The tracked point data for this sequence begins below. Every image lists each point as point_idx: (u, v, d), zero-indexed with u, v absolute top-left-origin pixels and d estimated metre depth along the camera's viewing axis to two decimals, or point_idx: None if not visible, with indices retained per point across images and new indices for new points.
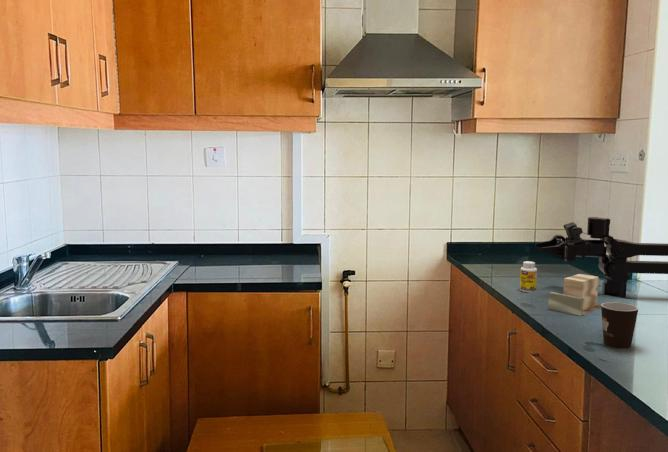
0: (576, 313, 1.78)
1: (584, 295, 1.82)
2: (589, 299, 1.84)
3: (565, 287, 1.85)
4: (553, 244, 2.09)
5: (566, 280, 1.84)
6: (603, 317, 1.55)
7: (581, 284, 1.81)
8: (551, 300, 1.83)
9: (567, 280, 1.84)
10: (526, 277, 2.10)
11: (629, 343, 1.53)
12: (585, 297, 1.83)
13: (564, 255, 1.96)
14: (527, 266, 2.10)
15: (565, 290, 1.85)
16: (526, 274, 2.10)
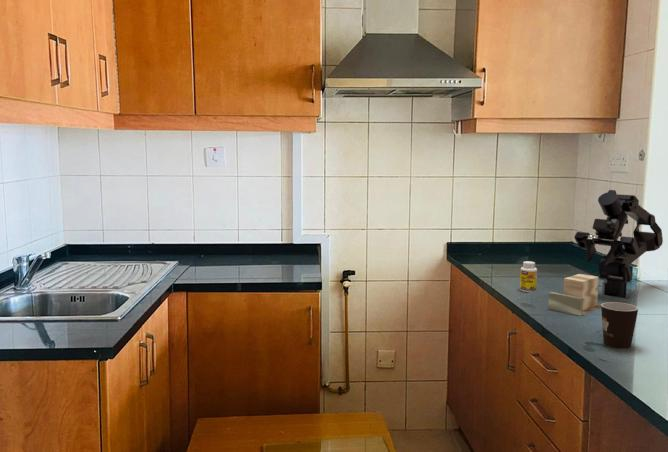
0: (576, 313, 1.78)
1: (584, 295, 1.82)
2: (589, 299, 1.84)
3: (565, 287, 1.85)
4: (593, 246, 1.96)
5: (566, 280, 1.84)
6: (603, 317, 1.55)
7: (581, 284, 1.81)
8: (551, 300, 1.83)
9: (567, 280, 1.84)
10: (526, 277, 2.10)
11: (629, 343, 1.53)
12: (585, 297, 1.83)
13: (624, 251, 1.91)
14: (527, 266, 2.10)
15: (565, 290, 1.85)
16: (526, 274, 2.10)
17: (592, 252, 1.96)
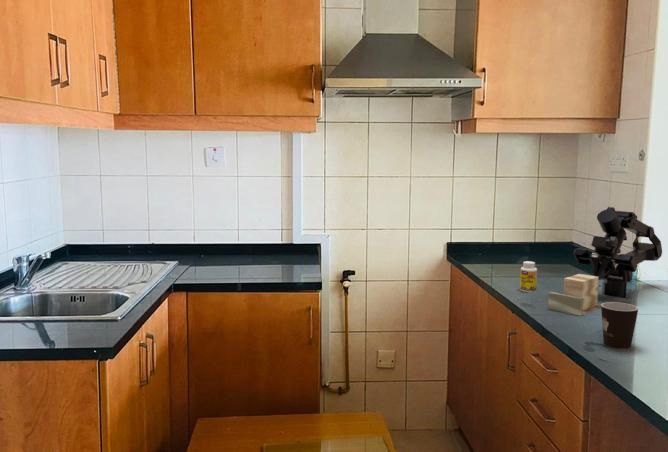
0: (576, 313, 1.78)
1: (584, 295, 1.82)
2: (589, 299, 1.84)
3: (565, 287, 1.85)
4: (599, 264, 1.95)
5: (566, 280, 1.84)
6: (603, 317, 1.55)
7: (581, 284, 1.81)
8: (551, 300, 1.83)
9: (567, 280, 1.84)
10: (526, 277, 2.10)
11: (629, 343, 1.53)
12: (585, 297, 1.83)
13: (615, 267, 1.93)
14: (527, 266, 2.10)
15: (565, 290, 1.85)
16: (526, 274, 2.10)
17: None
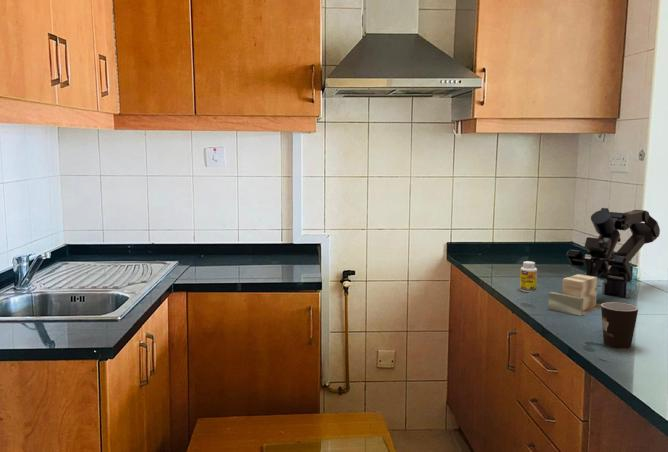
0: (576, 313, 1.78)
1: (583, 295, 1.81)
2: (588, 299, 1.84)
3: (563, 287, 1.84)
4: (592, 266, 1.92)
5: (565, 280, 1.84)
6: (603, 317, 1.55)
7: (580, 284, 1.80)
8: (551, 300, 1.83)
9: (566, 280, 1.83)
10: (526, 277, 2.10)
11: (629, 343, 1.53)
12: (584, 297, 1.82)
13: (608, 269, 1.90)
14: (527, 266, 2.10)
15: (564, 290, 1.84)
16: (526, 274, 2.10)
17: None
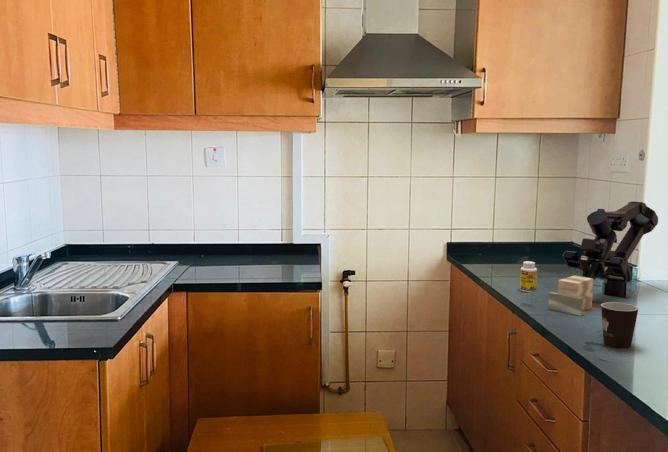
0: (576, 313, 1.78)
1: None
2: (583, 301, 1.82)
3: (559, 289, 1.82)
4: (589, 267, 1.90)
5: (560, 282, 1.82)
6: (603, 317, 1.55)
7: (575, 286, 1.78)
8: (551, 300, 1.83)
9: (561, 282, 1.82)
10: (526, 277, 2.10)
11: (629, 343, 1.53)
12: None
13: (604, 270, 1.88)
14: (527, 266, 2.10)
15: (559, 292, 1.82)
16: (526, 274, 2.10)
17: None
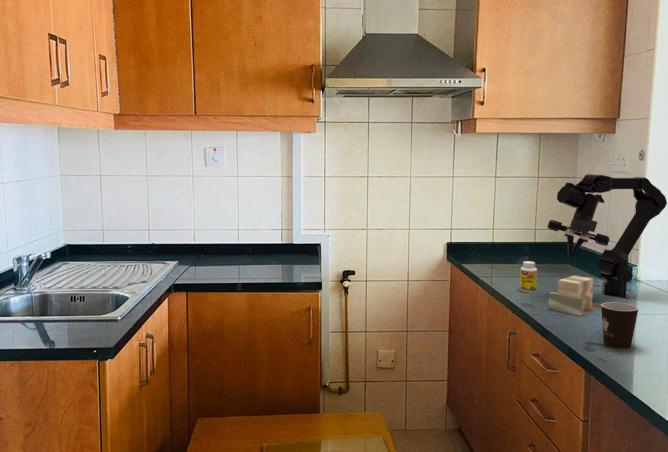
0: (576, 313, 1.78)
1: None
2: (583, 301, 1.82)
3: (559, 289, 1.82)
4: None
5: (560, 282, 1.82)
6: (603, 317, 1.55)
7: (575, 286, 1.78)
8: (551, 300, 1.83)
9: (561, 282, 1.82)
10: (526, 277, 2.10)
11: (629, 343, 1.53)
12: None
13: (587, 241, 1.95)
14: (527, 266, 2.10)
15: (559, 292, 1.82)
16: (526, 274, 2.10)
17: None
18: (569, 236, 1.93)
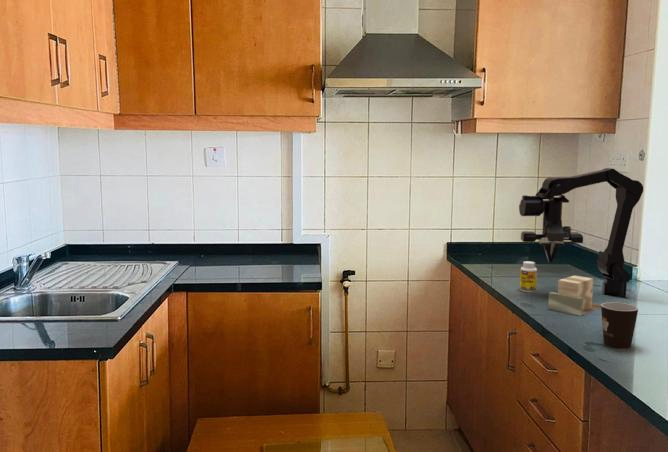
0: (576, 313, 1.78)
1: None
2: (583, 301, 1.82)
3: (559, 289, 1.82)
4: None
5: (560, 282, 1.82)
6: (603, 317, 1.55)
7: (575, 286, 1.78)
8: (551, 300, 1.83)
9: (561, 282, 1.82)
10: (526, 277, 2.10)
11: (629, 343, 1.53)
12: None
13: None
14: (527, 266, 2.10)
15: (559, 292, 1.82)
16: (526, 274, 2.10)
17: None
18: (546, 244, 1.98)
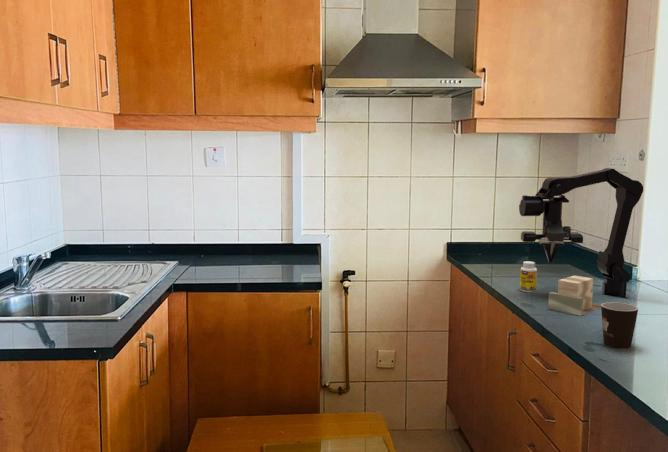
0: (576, 313, 1.78)
1: None
2: (583, 301, 1.82)
3: (559, 289, 1.82)
4: None
5: (560, 282, 1.82)
6: (603, 317, 1.55)
7: (575, 286, 1.78)
8: (551, 300, 1.83)
9: (561, 282, 1.82)
10: (526, 277, 2.10)
11: (629, 343, 1.53)
12: None
13: None
14: (527, 266, 2.10)
15: (559, 292, 1.82)
16: (526, 274, 2.10)
17: None
18: (546, 244, 1.98)
